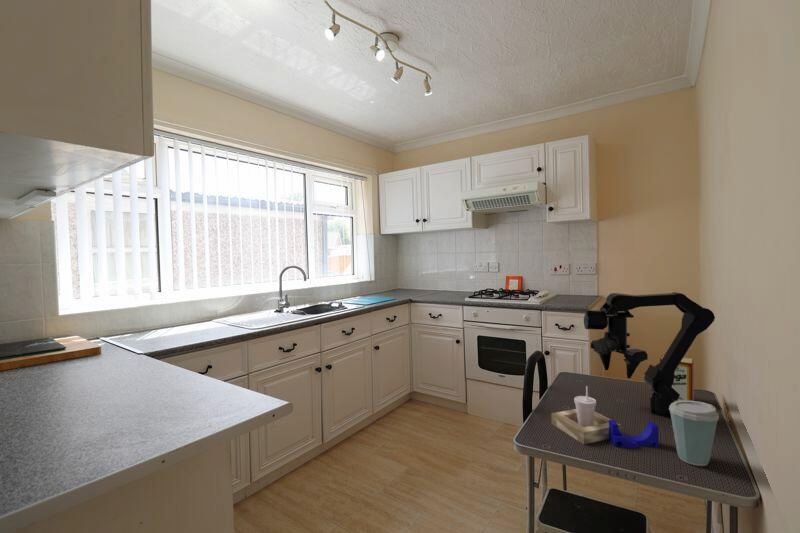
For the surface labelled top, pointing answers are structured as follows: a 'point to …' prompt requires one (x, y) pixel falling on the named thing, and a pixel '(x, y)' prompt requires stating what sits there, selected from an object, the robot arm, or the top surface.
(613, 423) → the cable clip
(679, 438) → the disposable coffee cup
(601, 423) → the bottle stand
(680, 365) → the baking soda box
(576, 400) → the smoothie
